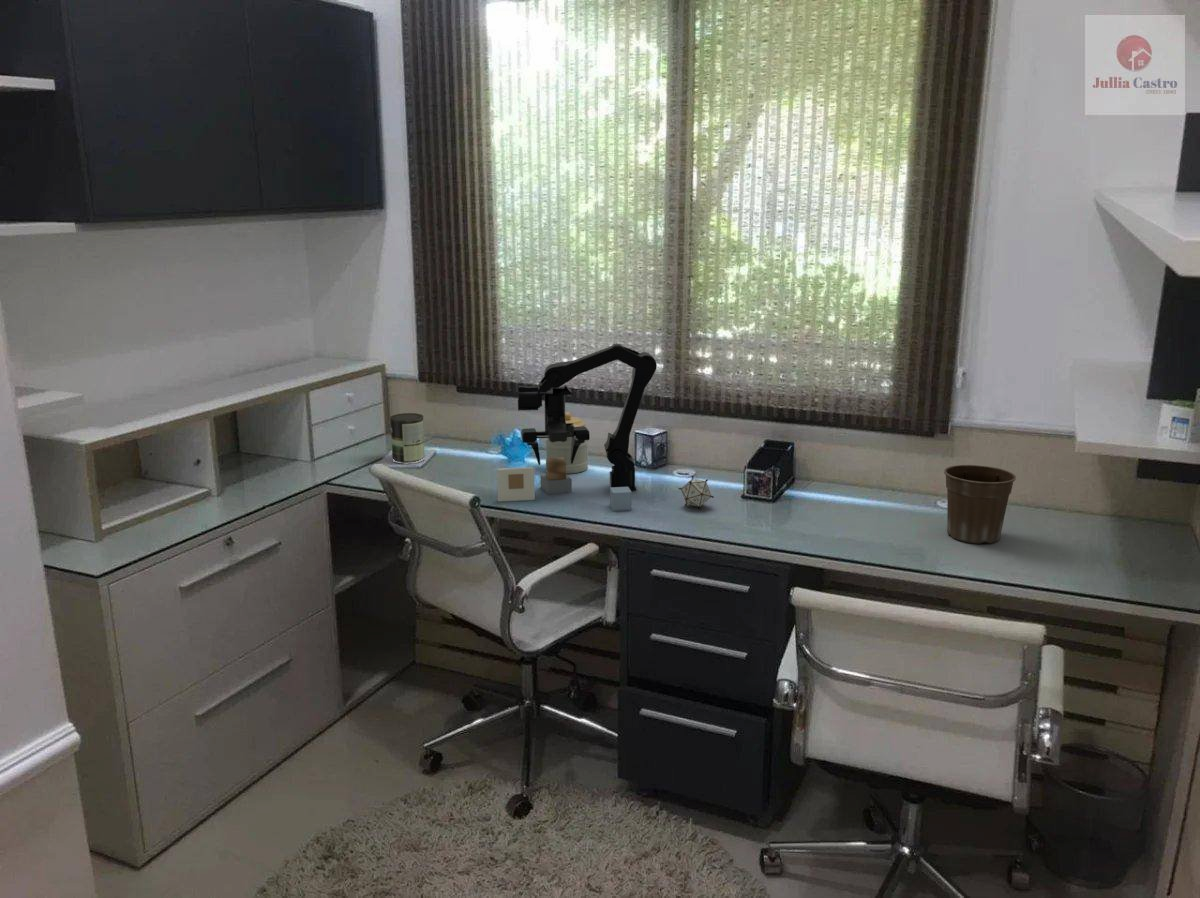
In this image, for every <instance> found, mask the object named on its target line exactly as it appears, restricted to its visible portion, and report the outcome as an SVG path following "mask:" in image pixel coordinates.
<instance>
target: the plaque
mask: <svg viewBox="0 0 1200 898" xmlns="http://www.w3.org/2000/svg"><path fill="white" fill-rule="evenodd" d="M496 479H497V480H496V481H497V482H496V483H497V485H496V486H497V502H517V501H535V499H536V497H535V493H536V492H535V491H536V490H535V467H534V466H530V467H529V466H528V467H524V466H523V467H506V468H502V467H501V468H496Z"/></svg>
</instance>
